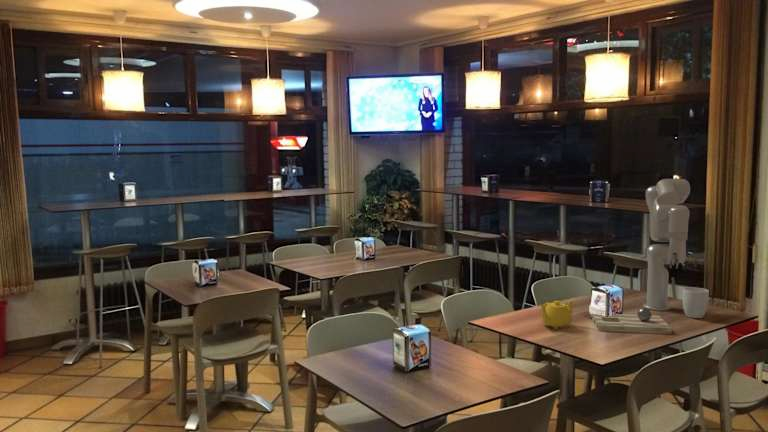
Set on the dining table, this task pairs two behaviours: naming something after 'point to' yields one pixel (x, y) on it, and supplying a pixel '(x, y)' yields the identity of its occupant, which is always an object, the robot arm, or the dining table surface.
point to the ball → (644, 314)
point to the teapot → (557, 314)
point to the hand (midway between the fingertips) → (675, 275)
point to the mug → (695, 301)
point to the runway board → (630, 324)
